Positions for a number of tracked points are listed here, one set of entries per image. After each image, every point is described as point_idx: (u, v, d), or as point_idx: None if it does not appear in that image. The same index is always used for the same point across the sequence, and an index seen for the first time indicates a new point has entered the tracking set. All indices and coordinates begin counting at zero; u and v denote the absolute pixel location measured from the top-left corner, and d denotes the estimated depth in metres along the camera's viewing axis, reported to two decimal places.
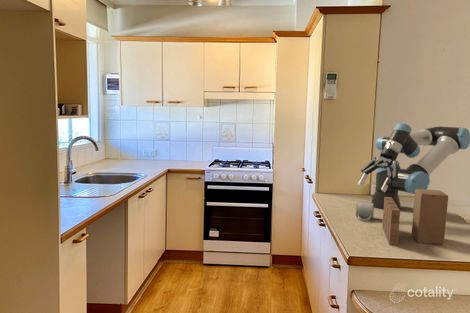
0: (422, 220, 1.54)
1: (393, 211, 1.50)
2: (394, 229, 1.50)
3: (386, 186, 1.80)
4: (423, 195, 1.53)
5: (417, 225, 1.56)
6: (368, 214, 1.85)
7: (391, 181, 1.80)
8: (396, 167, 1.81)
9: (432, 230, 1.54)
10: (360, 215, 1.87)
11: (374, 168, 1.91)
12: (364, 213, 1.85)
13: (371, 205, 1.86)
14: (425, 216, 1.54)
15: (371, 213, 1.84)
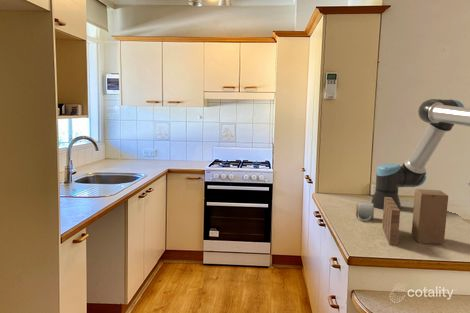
0: (422, 220, 1.54)
1: (393, 211, 1.50)
2: (394, 229, 1.50)
3: None
4: (423, 195, 1.53)
5: (417, 225, 1.56)
6: (368, 214, 1.84)
7: None
8: None
9: (432, 230, 1.54)
10: (360, 215, 1.86)
11: None
12: (364, 213, 1.85)
13: (371, 205, 1.85)
14: (425, 216, 1.54)
15: (371, 213, 1.84)
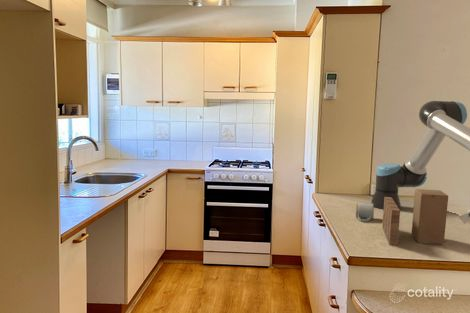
0: (422, 220, 1.54)
1: (393, 211, 1.50)
2: (394, 229, 1.50)
3: None
4: (423, 195, 1.53)
5: (417, 225, 1.56)
6: (368, 214, 1.84)
7: None
8: None
9: (432, 230, 1.54)
10: (360, 215, 1.86)
11: None
12: (364, 213, 1.85)
13: (371, 205, 1.85)
14: (425, 216, 1.54)
15: (371, 213, 1.83)
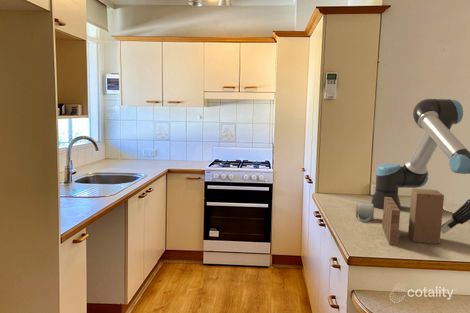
0: (418, 220, 1.54)
1: (393, 211, 1.50)
2: (394, 229, 1.50)
3: None
4: (419, 195, 1.53)
5: (413, 224, 1.57)
6: (368, 215, 1.83)
7: None
8: None
9: (428, 230, 1.54)
10: (360, 216, 1.85)
11: None
12: (364, 214, 1.84)
13: (371, 206, 1.84)
14: (421, 215, 1.54)
15: (371, 214, 1.83)
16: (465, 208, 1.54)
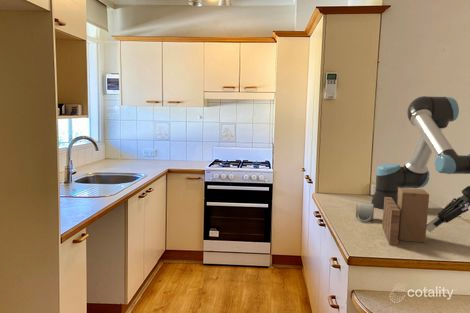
0: (403, 218, 1.56)
1: (393, 211, 1.50)
2: (394, 229, 1.50)
3: None
4: (404, 193, 1.55)
5: (399, 223, 1.58)
6: (368, 215, 1.83)
7: None
8: None
9: (414, 228, 1.55)
10: (360, 216, 1.85)
11: None
12: (364, 214, 1.84)
13: (371, 206, 1.84)
14: (406, 214, 1.55)
15: (371, 214, 1.83)
16: (450, 207, 1.56)
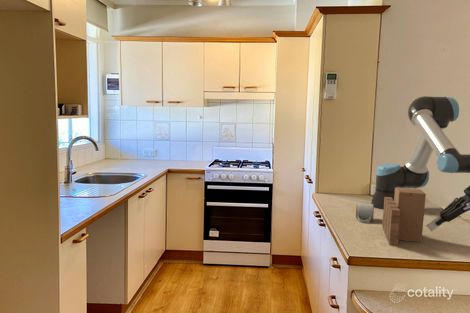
0: (400, 218, 1.56)
1: (393, 211, 1.50)
2: (394, 229, 1.50)
3: None
4: (401, 193, 1.55)
5: None
6: (368, 215, 1.83)
7: None
8: None
9: (410, 228, 1.56)
10: (360, 216, 1.85)
11: None
12: (364, 214, 1.84)
13: (371, 206, 1.84)
14: (403, 214, 1.56)
15: (371, 214, 1.82)
16: (452, 206, 1.56)
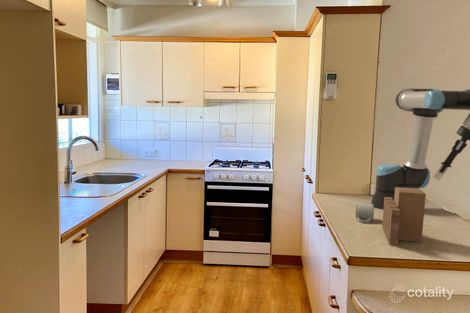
0: (400, 218, 1.56)
1: (393, 211, 1.50)
2: (394, 229, 1.50)
3: None
4: (401, 193, 1.55)
5: None
6: (368, 215, 1.82)
7: None
8: None
9: (410, 228, 1.56)
10: (360, 216, 1.84)
11: None
12: (364, 214, 1.83)
13: (371, 206, 1.83)
14: (403, 214, 1.56)
15: (371, 214, 1.82)
16: None
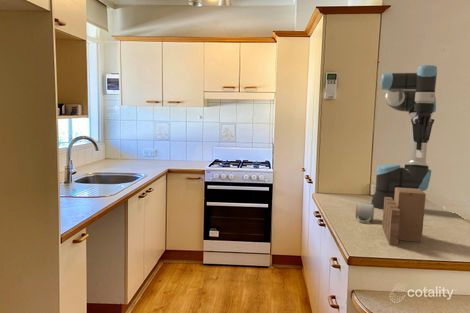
0: (400, 218, 1.56)
1: (393, 211, 1.50)
2: (394, 229, 1.50)
3: None
4: (401, 193, 1.55)
5: None
6: (368, 216, 1.82)
7: None
8: None
9: (410, 228, 1.56)
10: (360, 217, 1.84)
11: None
12: (364, 215, 1.83)
13: (371, 206, 1.83)
14: (403, 214, 1.56)
15: (371, 215, 1.81)
16: None
